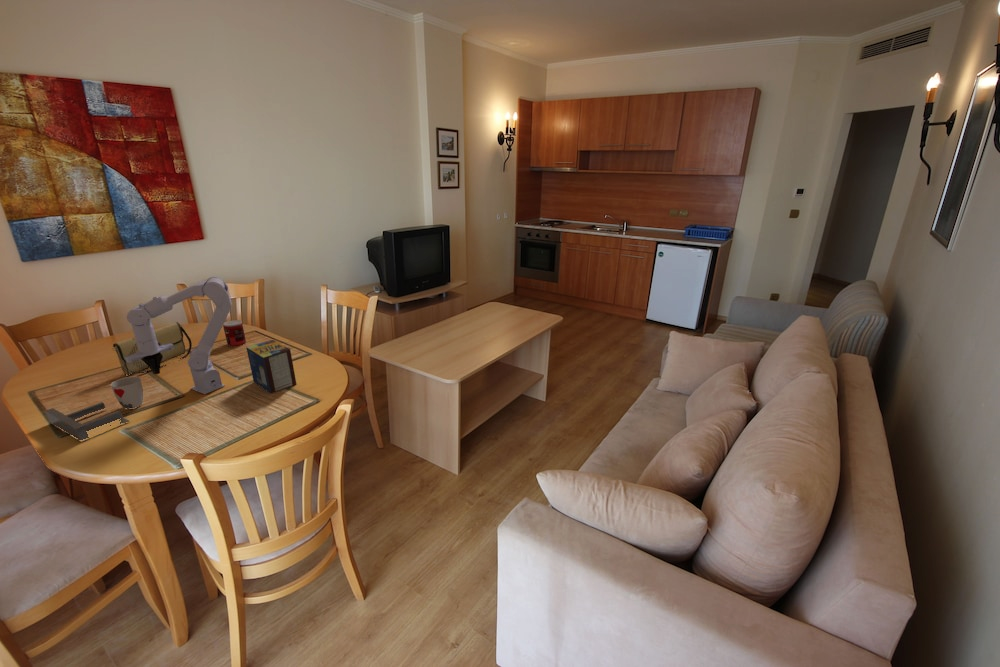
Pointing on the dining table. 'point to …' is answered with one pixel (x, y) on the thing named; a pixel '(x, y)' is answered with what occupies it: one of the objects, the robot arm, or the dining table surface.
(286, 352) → the protein box
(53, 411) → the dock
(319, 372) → the dining table surface
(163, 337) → the clutch purse
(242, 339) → the canned food
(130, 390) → the cup
